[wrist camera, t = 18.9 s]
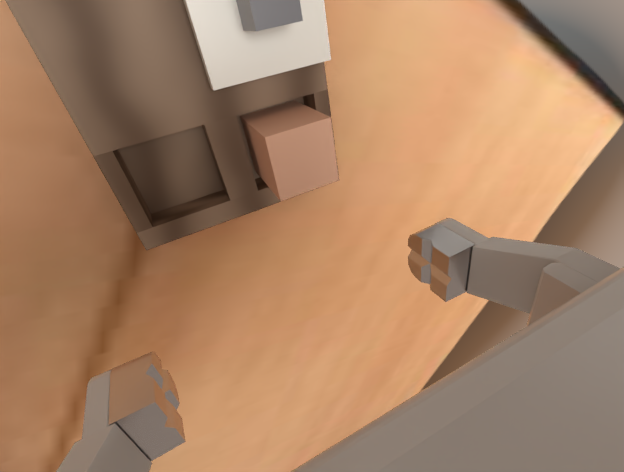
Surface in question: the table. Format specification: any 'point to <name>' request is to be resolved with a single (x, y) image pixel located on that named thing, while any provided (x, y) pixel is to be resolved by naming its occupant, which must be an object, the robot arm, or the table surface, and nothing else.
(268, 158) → the block
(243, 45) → the lid
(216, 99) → the board
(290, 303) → the table surface
